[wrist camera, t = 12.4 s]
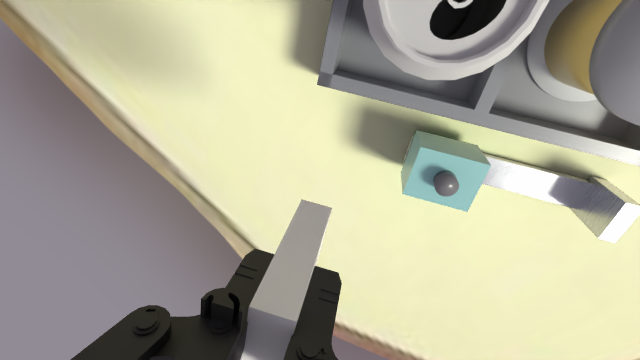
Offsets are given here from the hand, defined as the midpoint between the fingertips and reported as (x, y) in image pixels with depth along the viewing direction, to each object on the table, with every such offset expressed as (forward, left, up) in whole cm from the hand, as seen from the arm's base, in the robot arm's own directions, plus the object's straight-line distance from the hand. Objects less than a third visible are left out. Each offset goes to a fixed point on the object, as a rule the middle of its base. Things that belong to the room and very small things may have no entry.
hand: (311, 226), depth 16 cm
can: (-11, +3, -14) cm, 18 cm away
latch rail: (0, +14, -15) cm, 20 cm away
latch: (0, +8, -14) cm, 16 cm away
